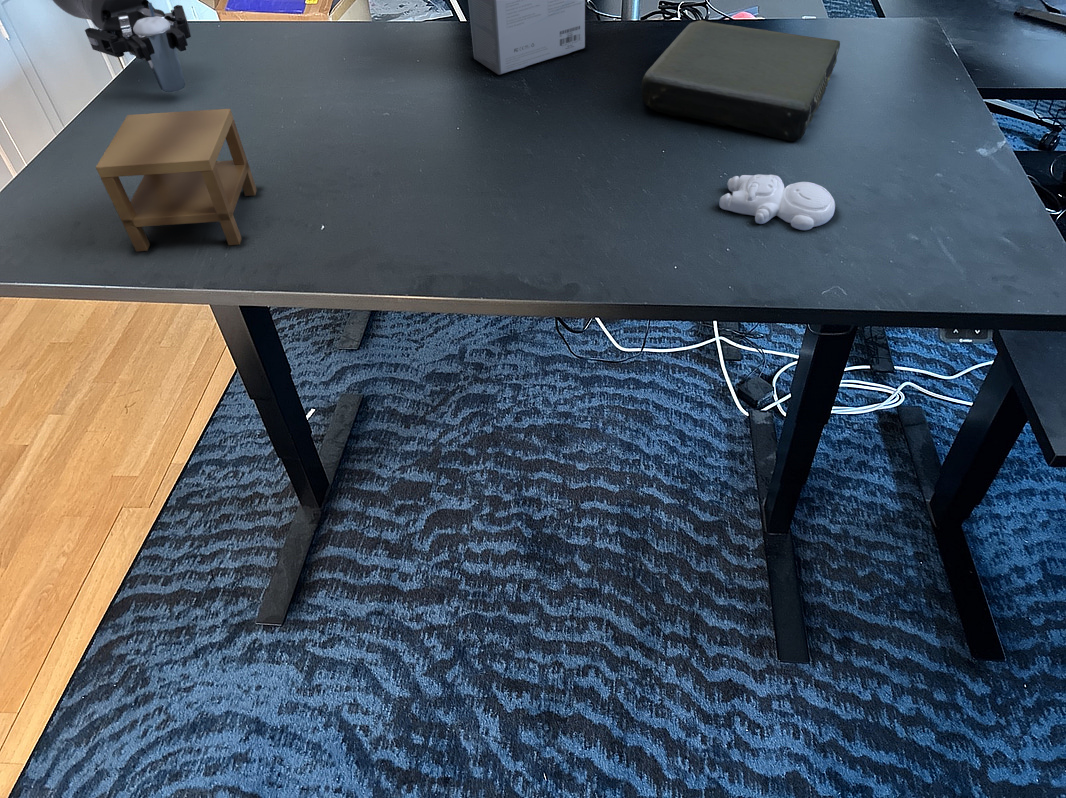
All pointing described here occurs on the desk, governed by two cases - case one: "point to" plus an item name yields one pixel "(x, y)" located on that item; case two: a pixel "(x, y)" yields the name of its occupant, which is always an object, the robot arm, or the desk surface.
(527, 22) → the hard drive box
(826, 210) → the astronaut figurine
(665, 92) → the network switch
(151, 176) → the wooden side table
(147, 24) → the milkshake
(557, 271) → the desk surface
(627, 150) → the desk surface
